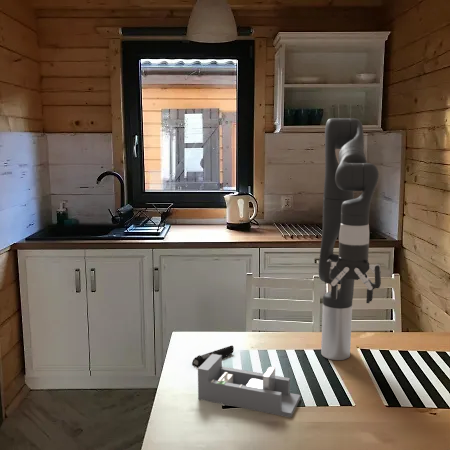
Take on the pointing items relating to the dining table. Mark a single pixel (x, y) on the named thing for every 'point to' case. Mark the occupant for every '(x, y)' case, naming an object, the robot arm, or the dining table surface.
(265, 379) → the notched taupe block
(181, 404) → the dining table surface
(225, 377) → the drag pointer
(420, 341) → the dining table surface
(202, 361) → the electric trimmer
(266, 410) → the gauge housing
